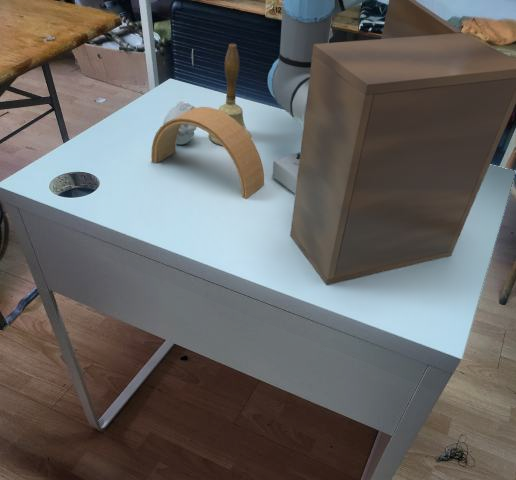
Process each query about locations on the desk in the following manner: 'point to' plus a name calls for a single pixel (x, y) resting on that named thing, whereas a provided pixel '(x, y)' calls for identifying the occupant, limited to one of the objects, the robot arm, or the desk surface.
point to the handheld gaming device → (287, 171)
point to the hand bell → (231, 89)
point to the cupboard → (396, 149)
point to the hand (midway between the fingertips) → (407, 188)
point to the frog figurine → (185, 130)
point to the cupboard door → (413, 21)
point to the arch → (222, 131)
